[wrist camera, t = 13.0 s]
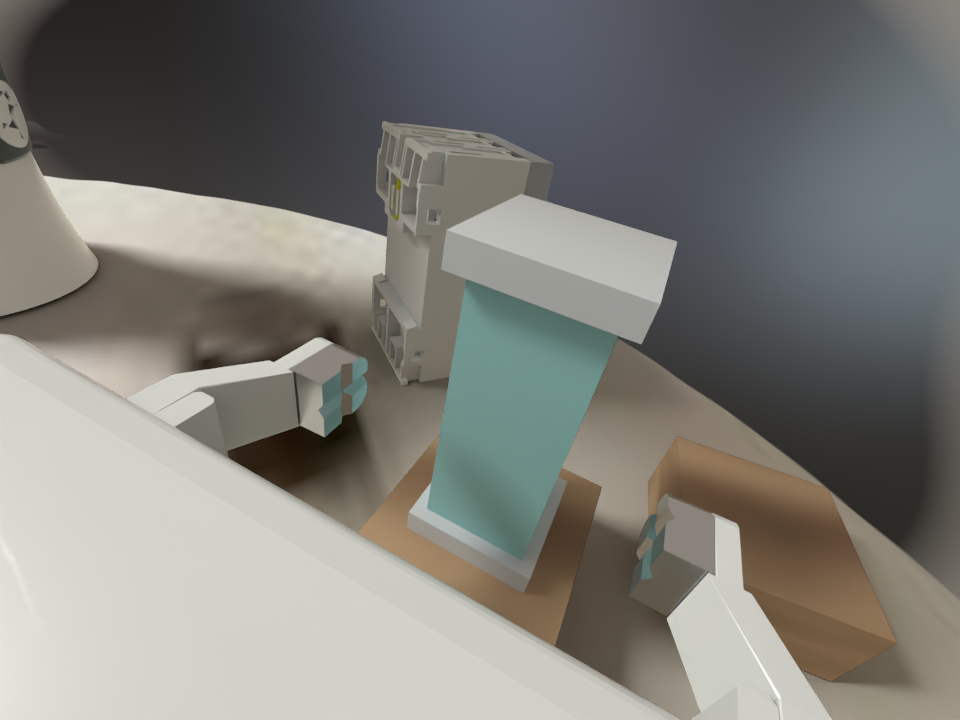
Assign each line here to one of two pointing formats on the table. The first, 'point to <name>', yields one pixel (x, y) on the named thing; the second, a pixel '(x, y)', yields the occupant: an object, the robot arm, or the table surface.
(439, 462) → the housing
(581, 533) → the stand
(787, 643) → the stand
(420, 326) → the circuit breaker
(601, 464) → the table surface
